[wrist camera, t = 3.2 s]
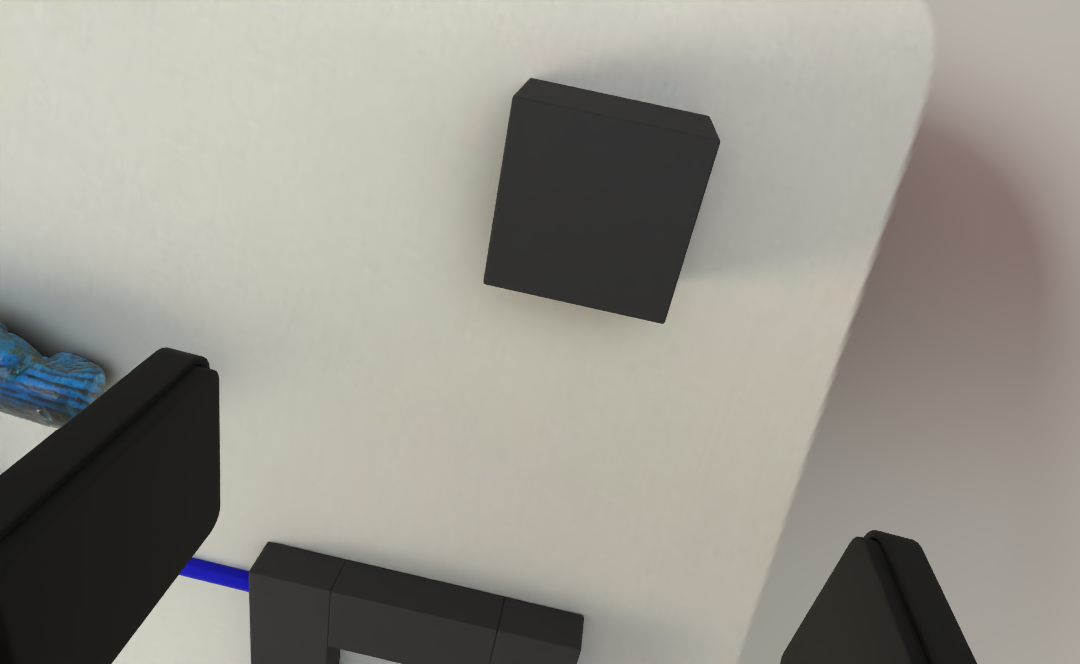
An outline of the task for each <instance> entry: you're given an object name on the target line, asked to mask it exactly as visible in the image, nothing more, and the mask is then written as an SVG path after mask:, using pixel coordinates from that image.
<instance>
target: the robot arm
mask: <svg viewBox="0 0 1080 664" xmlns="http://www.w3.org/2000/svg"><path fill="white" fill-rule="evenodd" d="M219 511H220V424H219V375H218V373H217V371H215V370H212V369H210V367H209V362H208V360H207V359H206V358H204V357H202V356H198V355H195V354H191V353H187V352H183V351H179V350H175V349H171V348H167V347H166V348H161V349H159V350H157V351H156V352H155V353H153V354H152V355H151V356H150V357H148V358H147V359H146V360H145V361H143V362H142V363H141V364H140V365H138V366H137V367H136V368H135V369H133V370H132V371H131V372H130V373H128V374H127V375H126V376H125V377H123V378H122V379H121V380H120V381H118V382H117V383H116V384H115V385H113V386H112V387H111V388H110V389H108V390H107V391H106V392H105V393H103V394H102V395H101V396H100V397H98V398H97V399H96V400H95V401H93V402H92V403H91V404H90V405H89V406H87V407H86V408H85V409H84V410H82V411H81V412H80V413H79V414H77V415H76V416H75V417H74V418H72V419H71V420H70V421H69V422H67V423H66V424H65V425H64V426H62V427H61V428H59V429H58V430H56V431H55V432H54V433H52V434H51V435H50V436H49V437H47V438H46V439H45V440H44V441H42V442H41V443H40V444H39V445H37V446H36V447H35V448H34V449H32V450H31V451H30V452H29V453H27V454H26V455H25V456H24V457H22V458H21V459H20V460H19V461H17V462H16V463H15V464H14V465H12V466H11V467H10V468H9V469H7V470H6V471H5V472H4V473H2V474H1V475H0V664H112V662H113V661H114V660H115V658H116V657H117V656H118V654H119V653H120V652H121V650H122V649H123V648H124V646H125V645H126V644H127V642H128V641H129V640H130V638H131V637H132V636H133V634H134V633H135V632H136V631H137V629H138V628H139V627H140V625H141V624H142V623H143V621H144V620H145V619H146V617H147V616H148V615H149V613H150V612H151V611H152V609H153V608H154V607H155V605H156V604H157V603H158V601H159V600H160V599H161V597H162V596H163V595H164V593H165V592H166V591H167V589H168V588H169V587H170V585H171V584H172V583H173V582H174V580H175V579H176V578H177V576H178V575H179V574H180V572H181V571H182V570H183V568H184V567H185V566H186V564H187V563H188V562H189V560H190V559H191V558H192V556H193V555H194V554H195V552H196V551H197V550H198V548H199V547H200V546H201V544H202V543H203V542H204V540H205V539H206V538H207V537H208V535H209V534H210V532H211V531H212V529H213V528H214V526H215V524H216V521H217V518H218V516H219ZM780 664H977V663H976V661H975V658H974V656H973V654H972V652H971V650H970V648H969V646H968V644H967V642H966V640H965V638H964V635H963V633H962V631H961V629H960V627H959V625H958V623H957V621H956V619H955V617H954V614H953V612H952V610H951V608H950V606H949V604H948V602H947V600H946V598H945V596H944V594H943V591H942V589H941V587H940V585H939V583H938V581H937V579H936V577H935V575H934V573H933V570H932V569H931V566H930V564H929V562H928V560H927V558H926V556H925V554H924V552H923V550H922V548H921V546H920V545H919V543H917V542H916V541H914V540H912V539H908V538H904V537H900V536H896V535H892V534H889V533H885V532H881V531H877V530H872V531H870V532H868V533H867V534H866V535H865V536H864V538H863V537H856V538H854V539H853V540H852V541H851V543H850V544H849V545H848V547H847V549H846V550H845V552H844V554H843V556H842V557H841V559H840V561H839V562H838V564H837V565H836V567H835V569H834V570H833V572H832V574H831V575H830V577H829V579H828V580H827V582H826V584H825V585H824V587H823V589H822V590H821V592H820V593H819V595H818V597H817V598H816V600H815V602H814V604H813V605H812V607H811V608H810V610H809V612H808V613H807V615H806V617H805V618H804V620H803V622H802V623H801V625H800V627H799V628H798V630H797V632H796V633H795V635H794V636H793V638H792V640H791V642H790V643H789V645H788V646H787V648H786V650H785V651H784V653H783V656H782V659H781V662H780Z"/></svg>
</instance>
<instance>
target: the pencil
mask: <svg viewBox="0 0 1080 664" xmlns="http://www.w3.org/2000/svg"><path fill="white" fill-rule="evenodd" d="M179 575H182V576H186V577H190V578H194V579H198V580H202V581H206V582H210V583H215V584H219V585H223V586H227V587H231V588H235V589H239V590H243V591H247V592H249V571H245V570H241V569H237V568H233V567H229V566H225V565H221V564H216V563H212V562H208V561H204V560H200V559H196V558H191V559H190V560H189V562H188V563H187V564H186V566H185V567H184V568H183V570H182V571H181V572H180V574H179Z"/></svg>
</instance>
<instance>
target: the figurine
mask: <svg viewBox="0 0 1080 664" xmlns="http://www.w3.org/2000/svg"><path fill="white" fill-rule="evenodd" d="M105 390H106V378H105V372H104V370H103V369H102V368H101V367H100V366H99V365H97V364H95V363H91V362H90V361H89V360H88V359H85V358H83V357H80V356H77V355H75V354H72V353H66V352H61V353H57V354H55V355H54V356H52V357H50V358H48V357H43V356H42V355H41V354H40V353H39V352H38V351H37V350H36V349H35V348H34V347H33V346H31V345H30V344H29V343H28V342H26V341H25V340H24V339H22V338H21V337H19V336H17V335H15V334H12V333H7V329H6V327H5V326H4V325H3V324H2V323H1V322H0V412H3V413H6V414H10V415H13V416H16V417H19V418H23V419H26V420H29V421H32V422H36V423H39V424H42V425H45V426H49V427H53V428H61V427H62V426H64V425H65V424H66V423H67V422H69V421H70V420H71V419H72V418H74V417H75V416H76V415H77V414H79V413H80V412H81V411H82V410H84V409H85V408H86V407H87V406H89V405H90V404H91V403H92V402H93V401H95V400H96V399H97V398H98V397H100V396H101V395H102V394H103V393H105Z"/></svg>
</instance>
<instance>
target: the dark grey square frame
mask: <svg viewBox="0 0 1080 664" xmlns="http://www.w3.org/2000/svg"><path fill="white" fill-rule="evenodd" d="M249 603H250V638H251V664H339V654H340V649H343V650H347V651H351V652H355V653H359V654H364V655H368V656H372V657H376V658H380V659H385V660H389V661H393V662H397V663H402V664H577V661H578V658H579V655H580V652H581V645H582V633H583V622H584V617H583V616H582V615H578V614H573V613H569V612H565V611H561V610H556V609H552V608H548V607H543V606H539V605H535V604H531V603H526V602H522V601H518V600H514V599H509V598H505V599H504V597H503V596H498V595H494V594H490V593H485V592H481V591H477V590H473V589H468V588H464V587H460V586H456V585H451V584H447V583H443V582H438V581H434V580H430V579H426V578H421V577H417V576H413V575H409V574H404V573H400V572H396V571H392V570H387V569H383V568H379V567H374V566H370V565H366V564H362V563H357V562H353V561H349V560H344V559H340V558H335V557H331V556H327V555H323V554H318V553H314V552H310V551H305V550H301V549H297V548H293V547H288V546H284V545H280V544H276V543H271V542H268V543H267V544H266V546H265V547H264V549H263V550H262V552H261V554H260V555H259V557H258V558H257V560H256V561H255V563H254V564H253V566H252V568H251V569H250V571H249Z"/></svg>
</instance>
